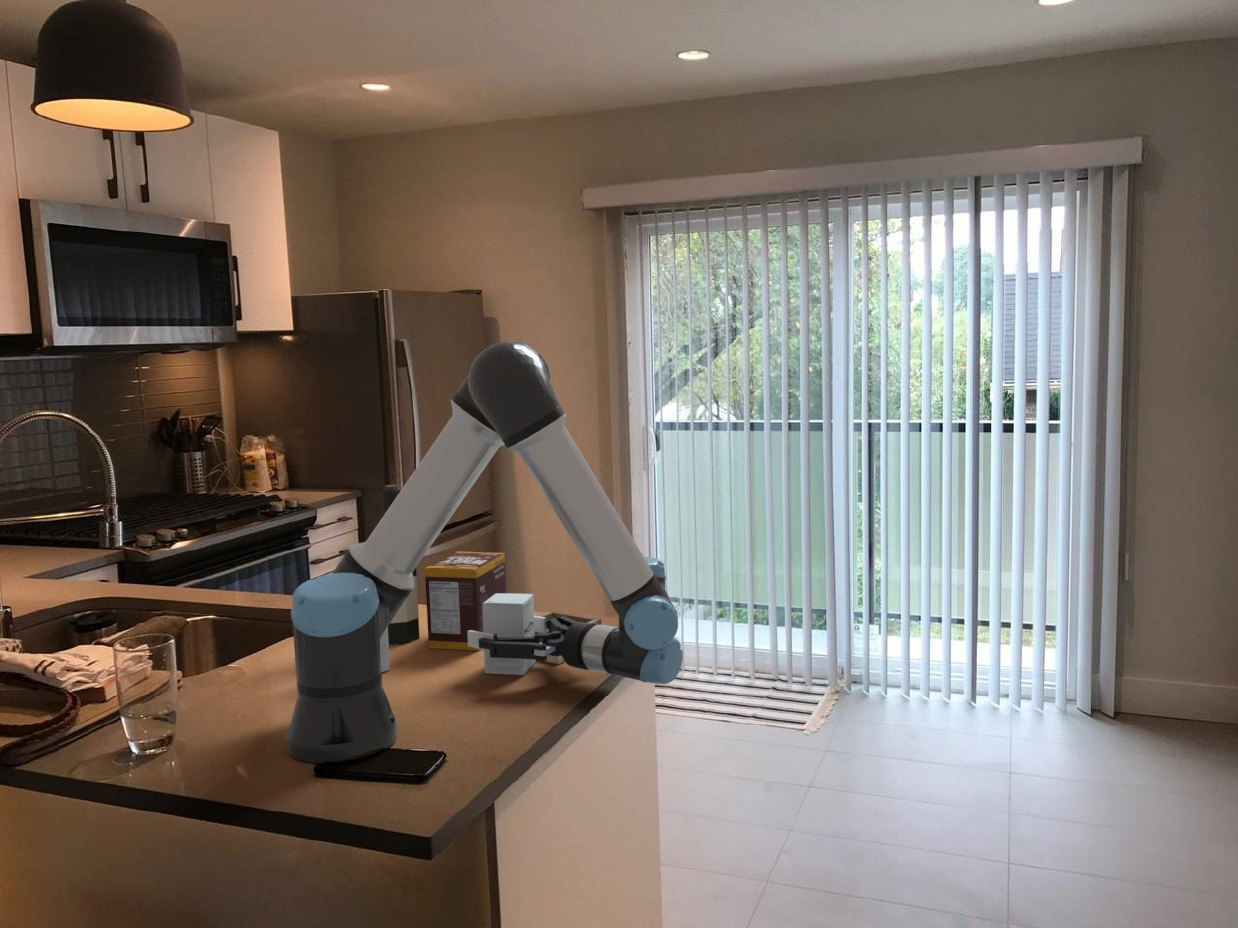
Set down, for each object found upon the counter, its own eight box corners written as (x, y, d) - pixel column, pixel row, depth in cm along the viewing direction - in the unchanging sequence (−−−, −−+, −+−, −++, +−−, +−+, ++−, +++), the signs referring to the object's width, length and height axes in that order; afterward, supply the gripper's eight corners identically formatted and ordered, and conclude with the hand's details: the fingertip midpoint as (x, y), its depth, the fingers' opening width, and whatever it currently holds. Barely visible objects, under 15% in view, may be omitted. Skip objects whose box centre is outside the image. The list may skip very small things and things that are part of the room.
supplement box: (508, 628, 200) (505, 551, 198) (479, 651, 185) (475, 569, 183) (460, 626, 202) (457, 550, 201) (427, 648, 188) (423, 567, 186)
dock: (558, 664, 176) (558, 642, 176) (490, 650, 185) (489, 629, 185) (622, 635, 193) (621, 615, 192) (556, 624, 202) (556, 605, 201)
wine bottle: (426, 632, 198) (419, 482, 195) (412, 644, 190) (404, 488, 187) (386, 631, 199) (378, 482, 196) (370, 644, 191) (362, 488, 188)
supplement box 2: (525, 676, 171) (522, 603, 169) (483, 674, 172) (480, 602, 171) (537, 662, 178) (534, 593, 176) (497, 660, 179) (494, 591, 178)
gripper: (548, 691, 154) (446, 668, 167) (634, 650, 174) (537, 632, 186) (546, 644, 154) (444, 624, 166) (633, 608, 173) (536, 593, 186)
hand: (493, 628), depth 176 cm, fingers open, 12 cm apart
